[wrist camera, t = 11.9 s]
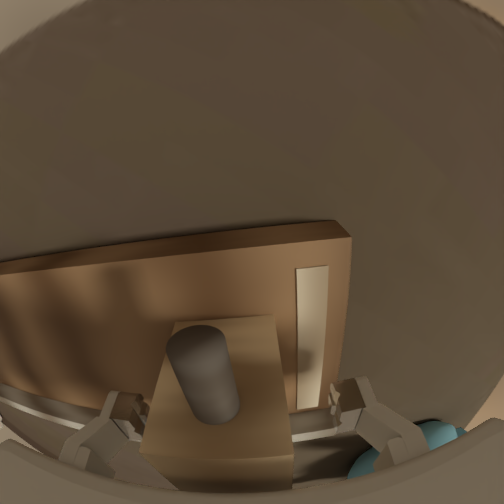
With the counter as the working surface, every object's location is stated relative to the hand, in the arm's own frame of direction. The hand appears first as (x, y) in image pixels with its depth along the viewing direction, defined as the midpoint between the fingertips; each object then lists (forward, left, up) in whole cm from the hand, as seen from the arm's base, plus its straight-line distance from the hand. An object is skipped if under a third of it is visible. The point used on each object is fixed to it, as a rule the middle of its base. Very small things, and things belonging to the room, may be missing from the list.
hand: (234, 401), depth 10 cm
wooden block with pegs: (0, 0, -2) cm, 2 cm away
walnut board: (-9, 0, -4) cm, 10 cm away
